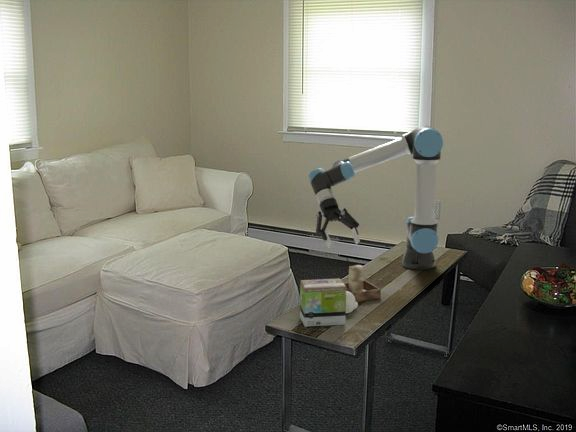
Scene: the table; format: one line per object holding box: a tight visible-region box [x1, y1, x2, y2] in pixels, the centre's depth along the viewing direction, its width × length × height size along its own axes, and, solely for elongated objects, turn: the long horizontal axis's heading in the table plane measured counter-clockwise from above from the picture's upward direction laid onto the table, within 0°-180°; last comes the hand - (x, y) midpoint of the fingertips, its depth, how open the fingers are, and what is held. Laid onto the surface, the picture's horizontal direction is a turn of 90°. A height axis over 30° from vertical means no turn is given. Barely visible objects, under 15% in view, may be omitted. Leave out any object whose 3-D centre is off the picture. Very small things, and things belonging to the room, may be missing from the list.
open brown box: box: [343, 279, 381, 303], centre depth 264 cm, size 12×13×4 cm
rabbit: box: [346, 291, 359, 314], centre depth 247 cm, size 12×9×12 cm
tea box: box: [299, 278, 347, 328], centre depth 236 cm, size 15×10×15 cm, turn 99°
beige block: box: [348, 264, 366, 292], centre depth 263 cm, size 5×8×11 cm, turn 26°
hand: (344, 244), depth 274 cm, fingers open, 13 cm apart
